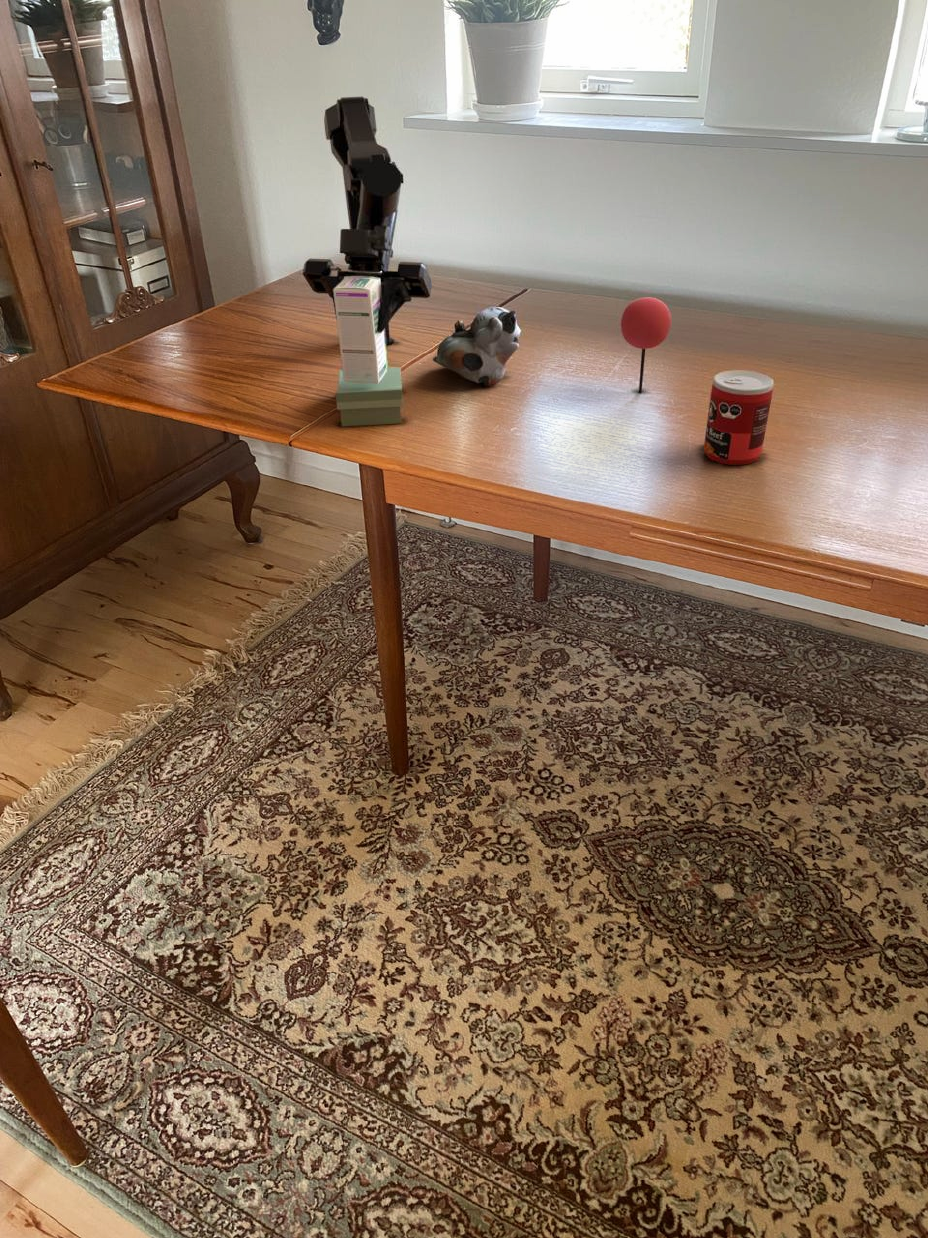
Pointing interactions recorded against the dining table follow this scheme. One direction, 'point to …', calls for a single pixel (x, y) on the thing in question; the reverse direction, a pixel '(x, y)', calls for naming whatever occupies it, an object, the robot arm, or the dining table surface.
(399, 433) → the dining table surface
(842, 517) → the dining table surface
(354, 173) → the robot arm
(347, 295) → the syrup box
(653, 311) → the lollipop
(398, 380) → the green lidded box
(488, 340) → the lucky cat figurine
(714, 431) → the canned food
